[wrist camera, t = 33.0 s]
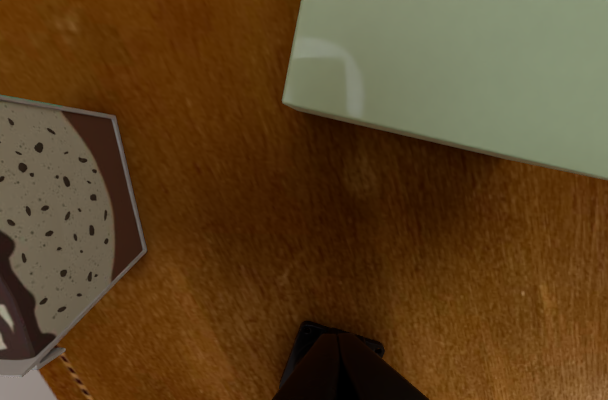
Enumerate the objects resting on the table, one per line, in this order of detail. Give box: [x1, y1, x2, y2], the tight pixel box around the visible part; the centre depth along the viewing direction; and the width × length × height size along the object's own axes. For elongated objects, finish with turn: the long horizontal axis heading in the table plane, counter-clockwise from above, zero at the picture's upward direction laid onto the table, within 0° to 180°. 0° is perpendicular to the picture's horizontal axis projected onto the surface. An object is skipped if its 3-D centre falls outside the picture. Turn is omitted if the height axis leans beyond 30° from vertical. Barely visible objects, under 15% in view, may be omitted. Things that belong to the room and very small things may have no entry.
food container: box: [0, 95, 147, 377], centre depth 16 cm, size 12×6×10 cm, turn 5°
